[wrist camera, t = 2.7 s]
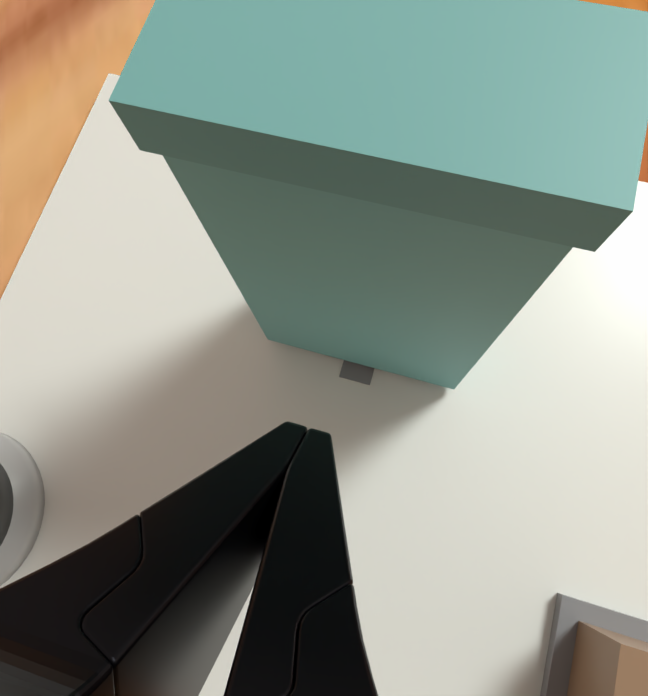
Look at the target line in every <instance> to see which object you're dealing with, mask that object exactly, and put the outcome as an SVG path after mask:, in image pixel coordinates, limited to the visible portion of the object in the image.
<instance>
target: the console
mask: <svg viewBox="0 0 648 696" xmlns="http://www.w3.org/2000/svg"><path fill="white" fill-rule="evenodd" d="M119 77H120V76H119V75H114V74H108V76H107V78H106V80H105V82H104V84H103V87H102V89H101V91H100V93H99V95H98V97H97V99H96V101H95V103H94V105H93V107H92V110H91V112H90V114H89V116H88V118H87V120H86V122H85V124H84V126H83V128H82V130H81V133H80V135H79V137H78V139H77V141H76V143H75V145H74V147H73V149H72V151H71V153H70V156H69V158H68V160H67V162H66V164H65V166H64V168H63V170H62V172H61V174H60V176H59V178H58V181H57V183H56V185H55V187H54V189H53V191H52V193H51V195H50V197H49V199H48V201H47V204H46V206H45V208H44V210H43V212H42V214H41V216H40V218H39V220H38V222H37V224H36V227H35V229H34V231H33V233H32V235H31V237H30V239H29V241H28V243H27V245H26V247H25V250H24V252H23V254H22V256H21V258H20V260H19V262H18V264H17V266H16V268H15V270H14V272H13V275H12V277H11V279H10V281H9V283H8V285H7V287H6V289H5V291H4V293H3V295H2V298H1V300H0V588H2V587H4V586H6V585H8V584H10V583H12V582H14V581H16V580H18V579H20V578H22V577H24V576H26V575H28V574H30V573H32V572H34V571H36V570H38V569H40V568H42V567H44V566H46V565H48V564H50V563H52V562H54V561H56V560H58V559H60V558H62V557H64V556H65V555H67V554H69V553H71V552H73V551H75V550H77V549H79V548H81V547H82V546H84V545H86V544H88V543H90V542H91V541H93V540H95V539H96V538H98V537H100V536H102V535H103V534H105V533H107V532H108V531H110V530H112V529H113V528H115V527H117V526H118V525H120V524H122V523H123V522H125V521H126V520H128V519H130V518H131V517H133V516H134V515H139V516H140V512H141V511H143V510H144V509H146V508H148V507H149V506H151V505H152V504H154V503H156V502H157V501H159V500H160V499H162V498H164V497H165V496H167V495H168V494H170V493H172V492H173V491H175V490H176V489H178V488H180V487H181V486H183V485H184V484H186V483H188V482H189V481H191V480H192V479H194V478H196V477H197V476H199V475H200V474H202V473H204V472H205V471H207V470H208V469H210V468H212V467H213V466H215V465H216V464H218V463H220V462H221V461H223V460H224V459H226V458H228V457H229V456H231V455H232V454H234V453H236V452H237V451H239V450H240V449H242V448H244V447H245V446H247V445H248V444H250V443H252V442H253V441H255V440H256V439H258V438H260V437H261V436H263V435H264V434H266V433H268V432H269V431H271V430H272V429H274V428H276V427H277V426H279V425H280V424H282V423H284V422H287V421H288V422H293V423H296V424H300V425H303V426H306V427H307V429H308V430H309V429H311V428H314V429H317V430H320V431H324V432H327V433H329V434H330V435H331V437H332V443H333V449H334V456H335V463H336V470H337V476H338V483H339V490H340V496H341V503H342V510H343V517H344V523H345V530H346V537H347V543H348V550H349V557H350V564H351V570H352V577H353V586H354V589H355V595H356V602H357V608H358V614H359V619H360V624H361V630H362V635H363V640H364V644H365V648H366V652H367V656H368V660H369V664H370V668H371V672H372V676H373V679H374V683H375V686H376V689H377V693H378V696H648V183H645V182H640V181H638V185H637V191H636V197H635V203H634V209H633V212H632V213H631V214H630V215H629V216H628V217H627V218H626V219H625V220H624V222H623V223H622V224H621V225H620V226H619V227H618V228H617V229H616V230H615V231H614V232H613V233H612V234H611V235H610V236H609V237H608V239H607V240H606V241H605V242H604V243H603V244H602V245H601V246H600V247H599V248H598V249H597V250H596V251H595V252H592V251H588V250H584V249H579V248H575V247H573V248H572V249H571V250H570V252H569V253H568V254H567V255H566V256H565V258H564V259H563V260H562V261H561V262H560V264H559V265H558V266H557V267H556V268H555V270H554V271H553V272H552V273H551V274H550V276H549V277H548V278H547V279H546V280H545V281H544V283H543V284H542V285H541V286H540V287H539V289H538V290H537V291H536V292H535V293H534V295H533V296H532V297H531V298H530V299H529V301H528V302H527V303H526V304H525V305H524V307H523V308H522V309H521V310H520V311H519V313H518V314H517V315H516V316H515V317H514V319H513V320H512V321H511V322H510V323H509V324H508V326H507V327H506V328H505V329H504V330H503V332H502V333H501V334H500V335H499V336H498V338H497V339H496V340H495V341H494V342H493V344H492V345H491V346H490V347H489V348H488V350H487V351H486V352H485V353H484V354H483V356H482V357H481V358H480V359H479V360H478V362H477V363H476V364H475V365H474V366H473V367H472V369H471V370H470V371H469V372H468V373H467V375H466V376H465V377H464V378H463V379H462V381H461V382H460V383H459V384H458V385H457V387H456V388H455V389H450V388H446V387H443V386H439V385H435V384H431V383H428V382H424V381H420V380H417V379H413V378H409V377H405V376H402V375H398V374H394V373H390V372H387V371H383V370H379V369H376V368H372V367H368V366H364V365H361V364H357V363H353V362H349V361H346V360H342V359H338V358H334V357H331V356H327V355H323V354H320V353H316V352H312V351H308V350H305V349H301V348H297V347H293V346H290V345H286V344H282V343H279V342H275V341H271V340H268V339H267V337H266V336H265V334H264V332H263V330H262V329H261V327H260V325H259V323H258V322H257V320H256V318H255V316H254V315H253V313H252V311H251V309H250V308H249V306H248V304H247V302H246V301H245V299H244V297H243V295H242V294H241V292H240V290H239V288H238V287H237V285H236V283H235V281H234V280H233V278H232V276H231V274H230V273H229V271H228V269H227V267H226V266H225V264H224V262H223V260H222V259H221V257H220V255H219V253H218V252H217V250H216V248H215V246H214V245H213V243H212V241H211V239H210V238H209V236H208V234H207V232H206V231H205V229H204V227H203V225H202V224H201V222H200V220H199V218H198V217H197V215H196V213H195V211H194V210H193V208H192V206H191V204H190V203H189V201H188V199H187V197H186V196H185V194H184V192H183V190H182V189H181V187H180V185H179V183H178V182H177V180H176V178H175V176H174V175H173V173H172V171H171V169H170V168H169V166H168V164H167V162H166V161H165V159H164V157H163V155H159V154H154V153H150V152H145V151H141V150H139V148H138V147H137V145H136V143H135V142H134V140H133V139H132V137H131V135H130V134H129V132H128V131H127V129H126V127H125V126H124V124H123V123H122V121H121V119H120V118H119V116H118V115H117V113H116V111H115V110H114V108H113V107H112V105H111V104H110V102H109V98H110V96H111V94H112V92H113V90H114V88H115V86H116V83H117V81H118V79H119ZM253 587H254V586H253ZM252 591H253V588H252V590H251V592H250V594H249V596H248V598H247V600H246V602H245V604H244V606H243V608H242V610H241V612H240V614H239V616H238V618H237V620H236V622H235V624H234V626H233V628H232V630H231V632H230V634H229V636H228V638H227V640H226V642H225V644H224V646H223V648H222V650H221V652H220V654H219V656H218V658H217V660H216V662H215V664H214V666H213V668H212V670H211V672H210V674H209V676H208V678H207V680H206V682H205V684H204V686H203V688H202V690H201V692H200V694H199V696H224V692H225V688H226V685H227V681H228V677H229V674H230V670H231V667H232V663H233V659H234V656H235V652H236V648H237V645H238V641H239V638H240V634H241V630H242V627H243V623H244V620H245V616H246V612H247V609H248V605H249V601H250V598H251V594H252Z"/></svg>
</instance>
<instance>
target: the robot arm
mask: <svg viewBox="0 0 648 696" xmlns="http://www.w3.org/2000/svg"><path fill="white" fill-rule="evenodd" d="M253 586H254V587H253ZM252 588H253V591H252V594H251V598H250V601H249V605H248V609H247V612H246V616H245V620H244V623H243V627H242V630H241V634H240V638H239V641H238V645H237V648H236V652H235V656H234V659H233V663H232V667H231V670H230V674H229V677H228V681H227V685H226V688H225V692H224V696H378V693H377V689H376V686H375V683H374V679H373V676H372V672H371V668H370V664H369V660H368V656H367V652H366V648H365V644H364V640H363V635H362V630H361V624H360V619H359V614H358V608H357V602H356V595H355V589H354V586H353V577H352V570H351V564H350V557H349V550H348V543H347V537H346V530H345V523H344V517H343V510H342V503H341V496H340V490H339V483H338V476H337V470H336V463H335V456H334V449H333V443H332V437H331V435H330V434H329V433H327V432H324V431H320V430H317V429H314V428H311V429H309V430H308V429H307V427H306V426H303V425H300V424H296V423H293V422H288V421H287V422H284V423H282V424H280V425H279V426H277V427H276V428H274V429H272V430H271V431H269V432H268V433H266V434H264V435H263V436H261V437H260V438H258V439H256V440H255V441H253V442H252V443H250V444H248V445H247V446H245V447H244V448H242V449H240V450H239V451H237V452H236V453H234V454H232V455H231V456H229V457H228V458H226V459H224V460H223V461H221V462H220V463H218V464H216V465H215V466H213V467H212V468H210V469H208V470H207V471H205V472H204V473H202V474H200V475H199V476H197V477H196V478H194V479H192V480H191V481H189V482H188V483H186V484H184V485H183V486H181V487H180V488H178V489H176V490H175V491H173V492H172V493H170V494H168V495H167V496H165V497H164V498H162V499H160V500H159V501H157V502H156V503H154V504H152V505H151V506H149V507H148V508H146V509H144V510H143V511H141V512H140V516H139V515H134V516H133V517H131V518H130V519H128V520H126V521H125V522H123V523H122V524H120V525H118V526H117V527H115V528H113V529H112V530H110V531H108V532H107V533H105V534H103V535H102V536H100V537H98V538H96V539H95V540H93V541H91V542H90V543H88V544H86V545H84V546H82V547H81V548H79V549H77V550H75V551H73V552H71V553H69V554H67V555H65V556H64V557H62V558H60V559H58V560H56V561H54V562H52V563H50V564H48V565H46V566H44V567H42V568H40V569H38V570H36V571H34V572H32V573H30V574H28V575H26V576H24V577H22V578H20V579H18V580H16V581H14V582H12V583H10V584H8V585H6V586H4V587H2V588H0V696H199V694H200V692H201V690H202V688H203V686H204V684H205V682H206V680H207V678H208V676H209V674H210V672H211V670H212V668H213V666H214V664H215V662H216V660H217V658H218V656H219V654H220V652H221V650H222V648H223V646H224V644H225V642H226V640H227V638H228V636H229V634H230V632H231V630H232V628H233V626H234V624H235V622H236V620H237V618H238V616H239V614H240V612H241V610H242V608H243V606H244V604H245V602H246V600H247V598H248V596H249V594H250V592H251V590H252Z"/></svg>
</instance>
